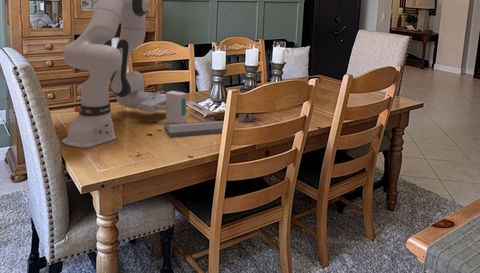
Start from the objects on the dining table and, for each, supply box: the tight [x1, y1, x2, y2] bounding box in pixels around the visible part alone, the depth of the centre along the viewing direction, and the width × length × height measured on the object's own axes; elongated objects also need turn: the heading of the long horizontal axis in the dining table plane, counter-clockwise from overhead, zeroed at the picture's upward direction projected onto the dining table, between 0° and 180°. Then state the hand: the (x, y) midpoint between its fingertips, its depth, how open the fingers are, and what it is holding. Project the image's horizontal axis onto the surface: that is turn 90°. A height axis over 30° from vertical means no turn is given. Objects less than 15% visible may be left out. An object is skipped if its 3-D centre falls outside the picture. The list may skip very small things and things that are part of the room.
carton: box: [165, 90, 187, 124], centre depth 232 cm, size 5×8×14 cm, turn 65°
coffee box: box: [238, 84, 257, 122], centre depth 239 cm, size 9×6×16 cm
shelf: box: [163, 120, 225, 138], centre depth 222 cm, size 25×12×5 cm, turn 110°
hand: (172, 105), depth 232 cm, fingers open, 8 cm apart
